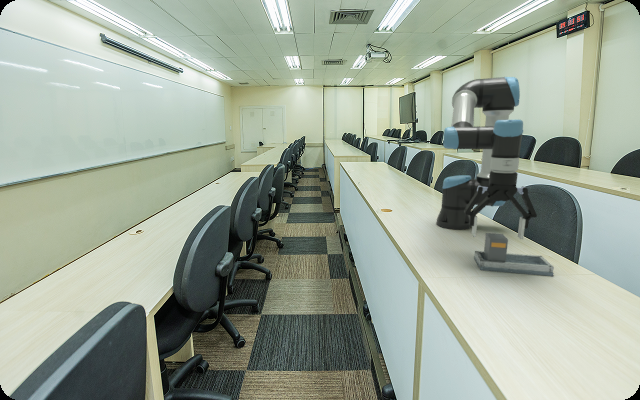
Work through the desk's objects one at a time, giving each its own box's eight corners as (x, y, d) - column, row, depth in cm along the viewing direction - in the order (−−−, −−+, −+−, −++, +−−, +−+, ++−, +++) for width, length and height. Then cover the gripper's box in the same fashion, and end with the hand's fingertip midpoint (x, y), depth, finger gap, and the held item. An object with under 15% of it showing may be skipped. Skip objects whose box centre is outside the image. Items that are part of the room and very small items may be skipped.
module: (483, 258, 108) (485, 232, 106) (499, 259, 106) (502, 233, 104) (487, 265, 102) (490, 238, 100) (505, 266, 100) (508, 239, 99)
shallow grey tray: (473, 258, 110) (474, 250, 110) (539, 263, 105) (540, 255, 105) (480, 270, 101) (481, 261, 100) (553, 276, 96) (554, 267, 95)
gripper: (461, 172, 97) (456, 237, 102) (555, 173, 91) (545, 243, 96) (458, 169, 105) (453, 230, 109) (544, 169, 98) (536, 235, 103)
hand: (496, 236), depth 103 cm, fingers open, 13 cm apart
